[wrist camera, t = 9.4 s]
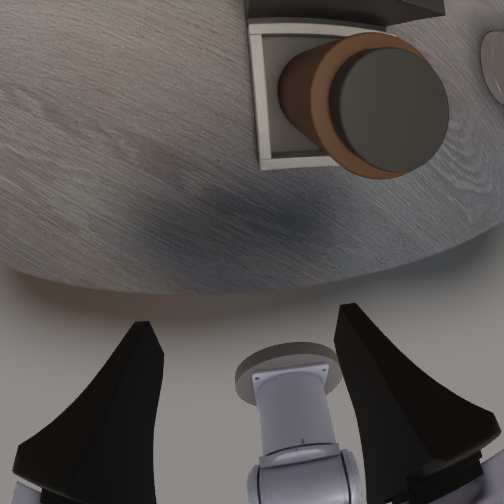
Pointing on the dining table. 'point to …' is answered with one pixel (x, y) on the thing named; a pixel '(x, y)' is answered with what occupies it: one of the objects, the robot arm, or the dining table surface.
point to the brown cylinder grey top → (367, 103)
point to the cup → (494, 63)
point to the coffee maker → (298, 41)
